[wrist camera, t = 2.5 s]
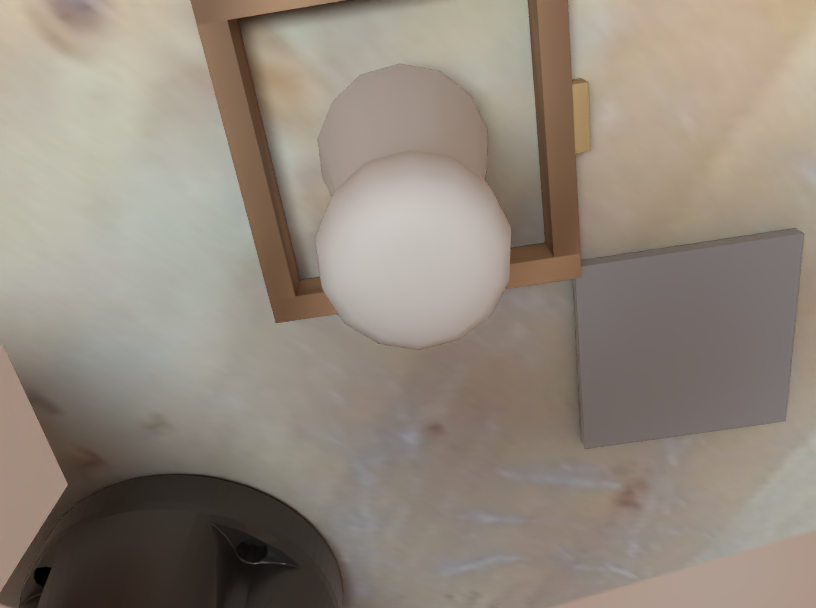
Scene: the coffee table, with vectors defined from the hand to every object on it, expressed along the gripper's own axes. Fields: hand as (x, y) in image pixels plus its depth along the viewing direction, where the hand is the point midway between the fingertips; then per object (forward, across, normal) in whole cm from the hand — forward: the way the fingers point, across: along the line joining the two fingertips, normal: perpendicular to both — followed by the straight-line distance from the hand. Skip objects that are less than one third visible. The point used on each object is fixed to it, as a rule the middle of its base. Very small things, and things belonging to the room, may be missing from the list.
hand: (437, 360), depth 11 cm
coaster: (+17, +10, -11) cm, 22 cm away
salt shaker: (+17, 0, 0) cm, 17 cm away
